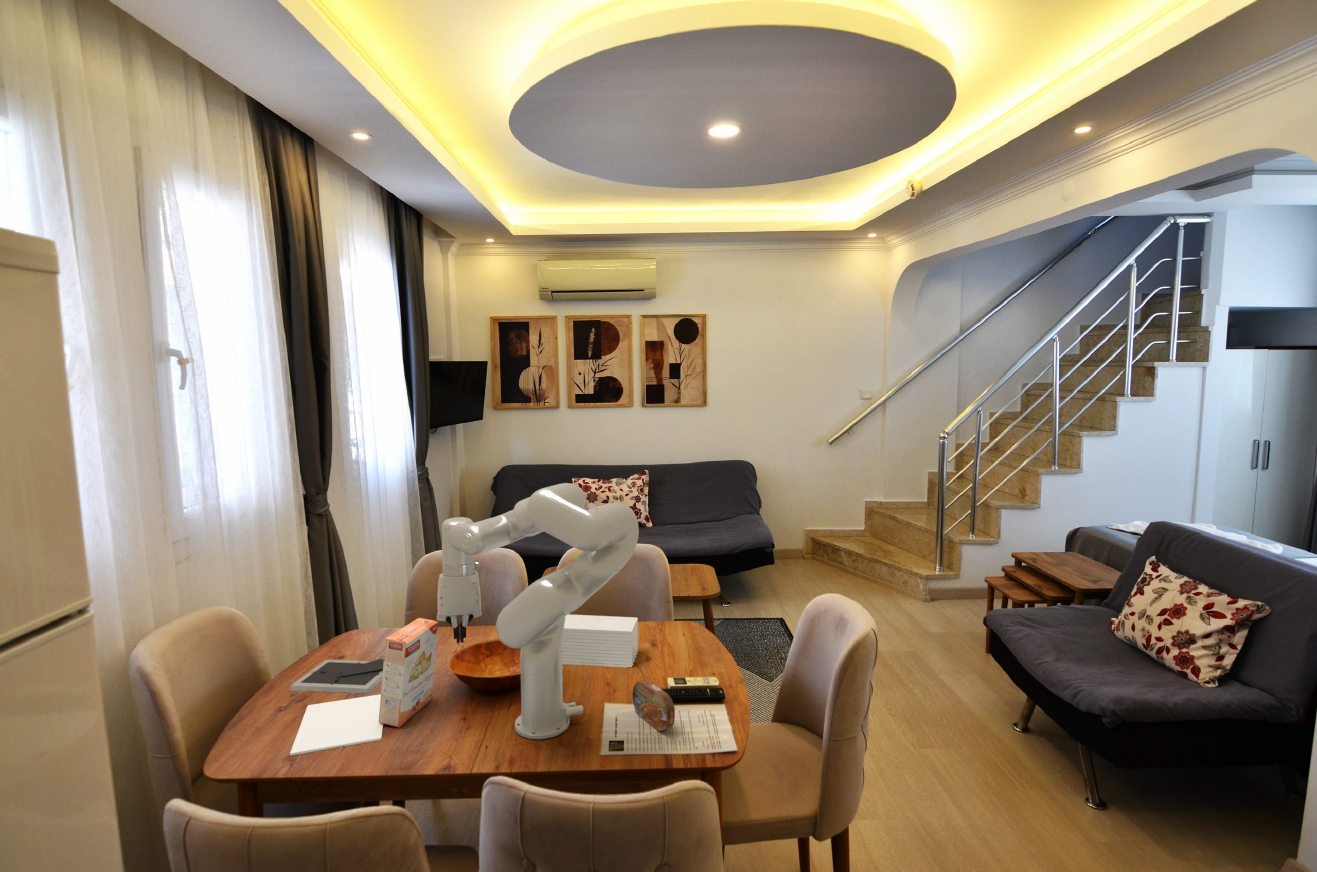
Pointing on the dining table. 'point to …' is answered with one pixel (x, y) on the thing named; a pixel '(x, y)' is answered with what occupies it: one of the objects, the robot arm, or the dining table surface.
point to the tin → (653, 705)
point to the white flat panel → (339, 724)
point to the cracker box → (408, 671)
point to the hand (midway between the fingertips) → (460, 640)
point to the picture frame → (342, 676)
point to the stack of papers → (600, 640)
